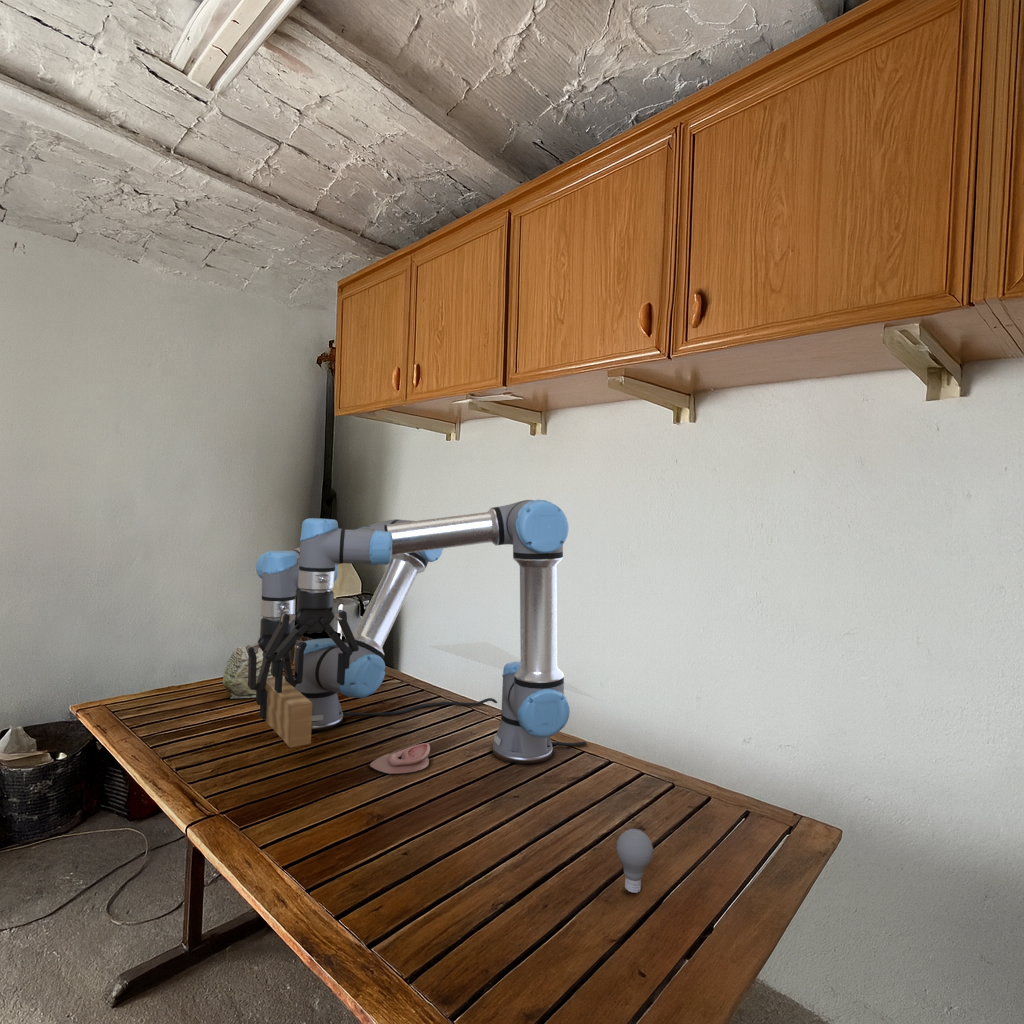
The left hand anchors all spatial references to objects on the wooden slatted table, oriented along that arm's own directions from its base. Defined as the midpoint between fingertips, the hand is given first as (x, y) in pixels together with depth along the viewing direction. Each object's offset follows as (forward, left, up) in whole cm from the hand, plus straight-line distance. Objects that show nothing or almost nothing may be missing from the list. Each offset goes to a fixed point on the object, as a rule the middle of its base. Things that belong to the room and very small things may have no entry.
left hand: (274, 715), depth 149 cm
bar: (+2, +8, -1) cm, 8 cm away
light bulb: (-14, +87, -11) cm, 89 cm away
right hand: (+2, +16, +11) cm, 19 cm away
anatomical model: (-20, +22, -11) cm, 32 cm away
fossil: (-23, -50, -11) cm, 56 cm away
